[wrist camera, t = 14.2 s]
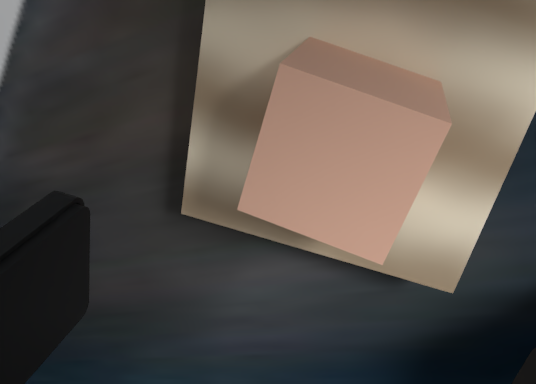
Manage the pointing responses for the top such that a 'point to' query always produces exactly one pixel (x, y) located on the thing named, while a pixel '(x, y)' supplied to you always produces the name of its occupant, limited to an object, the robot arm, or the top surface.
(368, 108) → the terracotta cube
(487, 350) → the top surface
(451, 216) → the maple block
